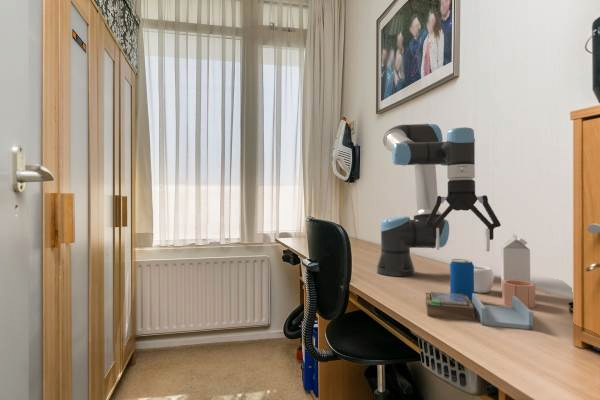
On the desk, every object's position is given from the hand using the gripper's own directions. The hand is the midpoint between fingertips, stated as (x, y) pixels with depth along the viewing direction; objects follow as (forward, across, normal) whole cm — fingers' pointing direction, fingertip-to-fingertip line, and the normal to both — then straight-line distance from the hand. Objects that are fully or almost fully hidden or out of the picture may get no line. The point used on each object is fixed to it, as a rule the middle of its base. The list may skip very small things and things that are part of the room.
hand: (462, 250), depth 102 cm
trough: (+15, +7, -14) cm, 22 cm away
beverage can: (+15, 0, 0) cm, 15 cm away
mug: (+15, +5, +14) cm, 21 cm away
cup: (+15, +15, +2) cm, 21 cm away
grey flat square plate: (+12, -5, -12) cm, 18 cm away
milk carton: (+15, +17, +12) cm, 26 cm away
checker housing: (+15, -5, -12) cm, 20 cm away
